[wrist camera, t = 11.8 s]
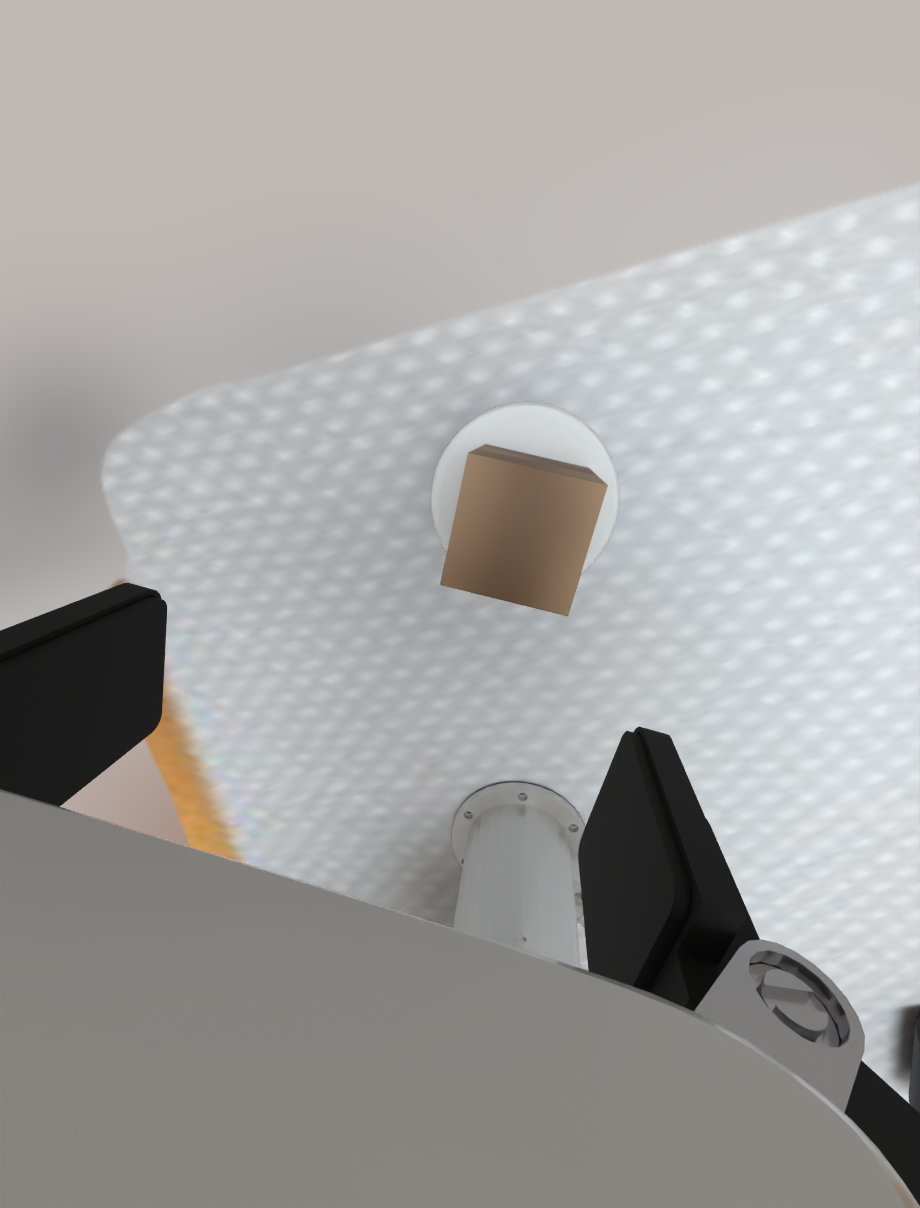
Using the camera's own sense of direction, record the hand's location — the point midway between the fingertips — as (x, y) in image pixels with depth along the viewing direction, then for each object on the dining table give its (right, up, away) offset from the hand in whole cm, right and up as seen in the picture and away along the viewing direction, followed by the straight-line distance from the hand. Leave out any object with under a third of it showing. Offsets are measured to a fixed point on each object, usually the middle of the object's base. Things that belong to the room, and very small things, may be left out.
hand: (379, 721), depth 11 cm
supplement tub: (+7, +12, +30) cm, 32 cm away
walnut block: (+5, +7, +16) cm, 18 cm away
